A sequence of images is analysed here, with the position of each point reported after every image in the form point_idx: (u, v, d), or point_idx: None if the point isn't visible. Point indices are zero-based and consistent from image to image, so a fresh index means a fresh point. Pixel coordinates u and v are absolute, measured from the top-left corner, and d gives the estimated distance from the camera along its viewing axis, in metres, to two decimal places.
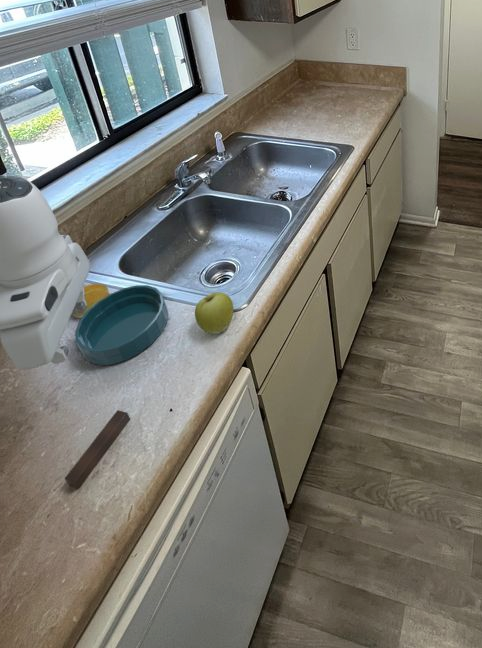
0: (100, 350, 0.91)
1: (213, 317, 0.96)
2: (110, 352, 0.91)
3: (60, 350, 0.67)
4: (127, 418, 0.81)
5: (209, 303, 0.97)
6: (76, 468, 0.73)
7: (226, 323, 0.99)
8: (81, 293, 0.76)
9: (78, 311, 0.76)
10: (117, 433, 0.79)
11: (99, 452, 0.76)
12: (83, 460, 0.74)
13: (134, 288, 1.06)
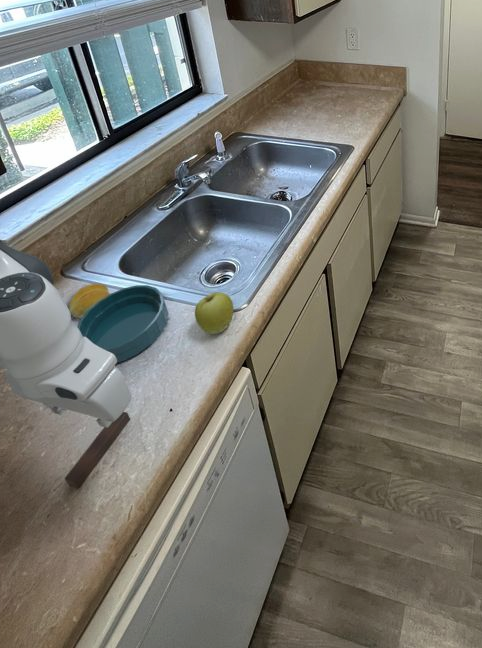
0: None
1: (213, 317, 0.96)
2: None
3: None
4: (127, 418, 0.81)
5: (209, 303, 0.97)
6: (76, 468, 0.73)
7: (226, 323, 0.99)
8: None
9: (63, 408, 0.74)
10: (117, 433, 0.79)
11: (99, 452, 0.76)
12: (83, 460, 0.74)
13: (134, 288, 1.06)
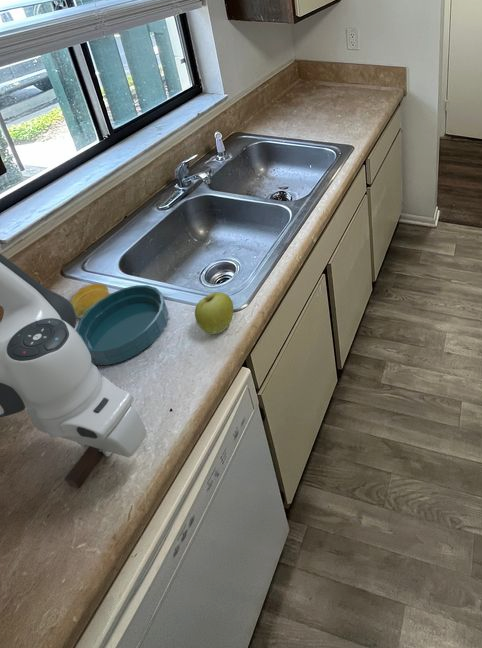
0: (100, 350, 0.91)
1: (213, 317, 0.96)
2: (110, 352, 0.91)
3: None
4: None
5: (209, 303, 0.97)
6: (76, 468, 0.73)
7: (226, 323, 0.99)
8: None
9: None
10: None
11: (99, 452, 0.76)
12: (83, 460, 0.74)
13: (134, 288, 1.06)
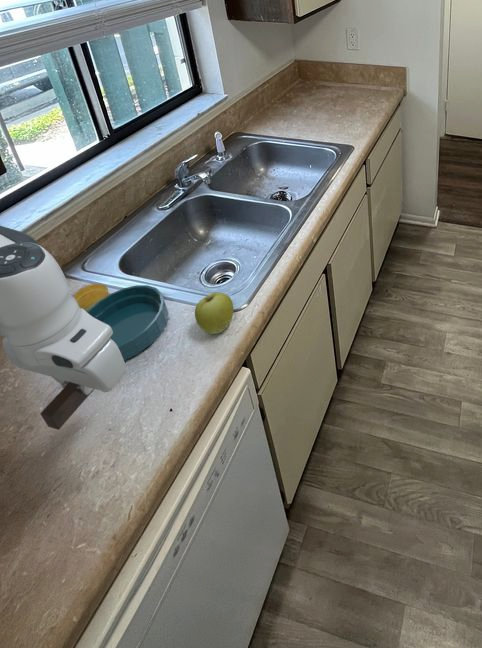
0: None
1: (213, 317, 0.96)
2: None
3: None
4: None
5: (209, 303, 0.97)
6: (53, 404, 0.70)
7: (226, 323, 0.99)
8: None
9: None
10: None
11: None
12: (61, 397, 0.71)
13: (134, 288, 1.06)
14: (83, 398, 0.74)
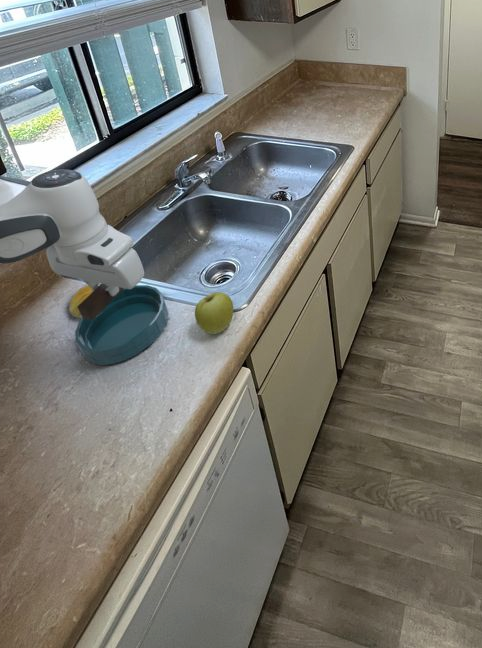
0: (100, 350, 0.91)
1: (213, 317, 0.96)
2: (110, 352, 0.91)
3: None
4: None
5: (209, 303, 0.97)
6: (86, 300, 0.89)
7: (226, 323, 0.99)
8: None
9: None
10: None
11: (105, 292, 0.91)
12: (92, 296, 0.90)
13: (134, 288, 1.06)
14: (109, 300, 0.92)
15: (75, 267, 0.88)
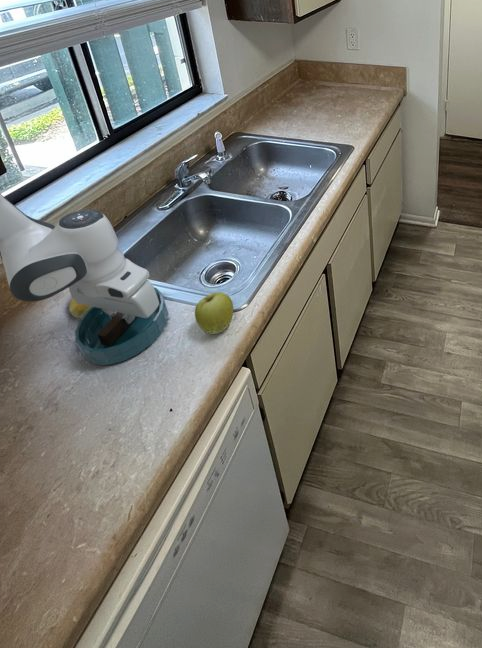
0: (100, 350, 0.91)
1: (213, 317, 0.96)
2: (110, 352, 0.91)
3: None
4: None
5: (209, 303, 0.97)
6: (105, 328, 0.96)
7: (226, 323, 0.99)
8: None
9: None
10: None
11: (122, 320, 0.99)
12: (110, 324, 0.97)
13: None
14: (126, 326, 1.00)
15: (95, 297, 0.95)
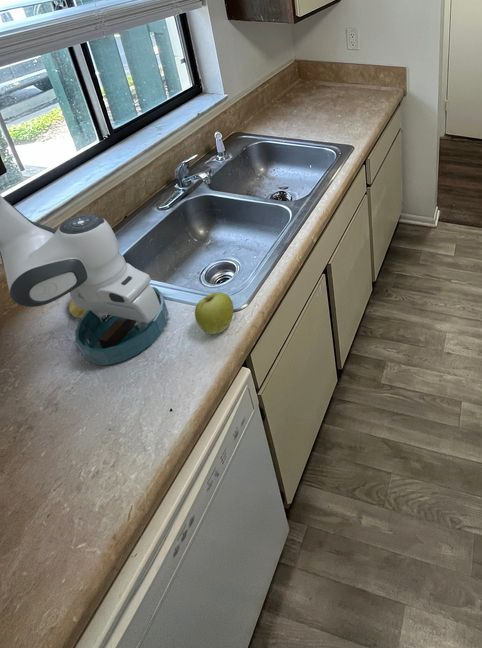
0: (100, 350, 0.91)
1: (213, 317, 0.96)
2: (110, 352, 0.91)
3: None
4: None
5: (209, 303, 0.97)
6: (106, 333, 0.95)
7: (226, 323, 0.99)
8: None
9: (108, 319, 1.00)
10: None
11: (124, 324, 0.98)
12: (112, 328, 0.96)
13: None
14: (127, 331, 0.99)
15: (96, 302, 0.95)
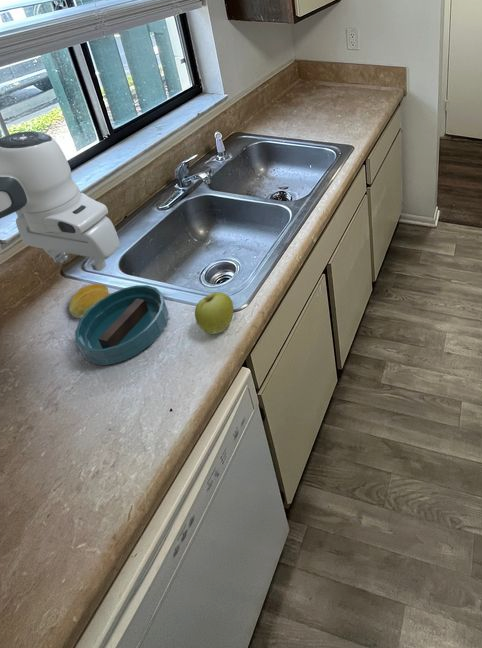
0: (100, 350, 0.91)
1: (213, 317, 0.96)
2: (110, 352, 0.91)
3: None
4: (144, 304, 1.03)
5: (209, 303, 0.97)
6: (106, 333, 0.95)
7: (226, 323, 0.99)
8: None
9: (63, 259, 0.89)
10: (137, 314, 1.01)
11: (124, 324, 0.98)
12: (112, 328, 0.96)
13: (134, 288, 1.06)
14: (127, 331, 0.99)
15: (46, 237, 0.84)
